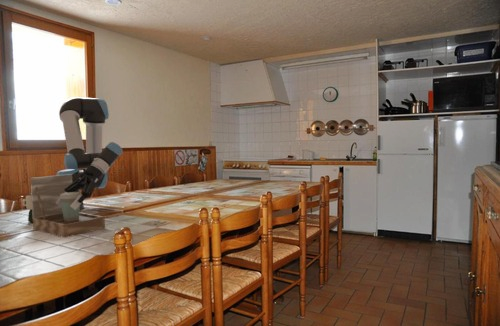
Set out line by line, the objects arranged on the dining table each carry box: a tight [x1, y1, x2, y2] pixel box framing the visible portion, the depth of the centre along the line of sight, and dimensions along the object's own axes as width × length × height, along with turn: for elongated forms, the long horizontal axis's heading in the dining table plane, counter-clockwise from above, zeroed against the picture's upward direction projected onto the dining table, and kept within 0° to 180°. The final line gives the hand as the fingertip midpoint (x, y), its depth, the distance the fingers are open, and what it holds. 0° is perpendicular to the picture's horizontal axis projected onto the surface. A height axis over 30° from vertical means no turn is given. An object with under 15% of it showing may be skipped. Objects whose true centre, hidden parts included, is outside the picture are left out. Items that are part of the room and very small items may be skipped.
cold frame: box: [29, 174, 106, 238], centre depth 150 cm, size 26×18×23 cm
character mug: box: [22, 194, 33, 223], centre depth 165 cm, size 11×7×13 cm, turn 100°
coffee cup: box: [59, 192, 81, 222], centre depth 149 cm, size 8×9×12 cm
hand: (65, 206), depth 147 cm, fingers open, 13 cm apart
